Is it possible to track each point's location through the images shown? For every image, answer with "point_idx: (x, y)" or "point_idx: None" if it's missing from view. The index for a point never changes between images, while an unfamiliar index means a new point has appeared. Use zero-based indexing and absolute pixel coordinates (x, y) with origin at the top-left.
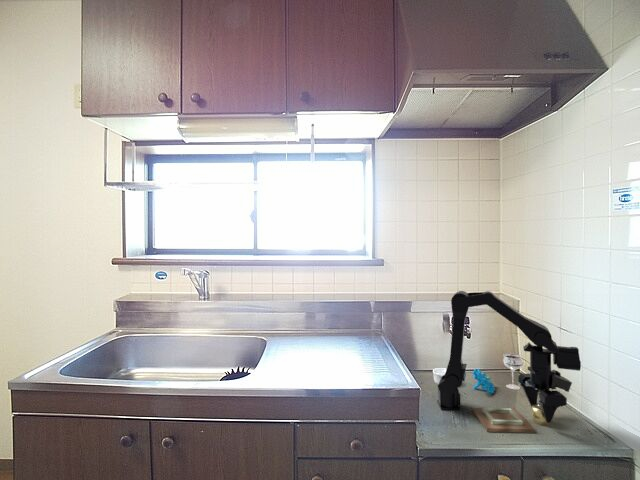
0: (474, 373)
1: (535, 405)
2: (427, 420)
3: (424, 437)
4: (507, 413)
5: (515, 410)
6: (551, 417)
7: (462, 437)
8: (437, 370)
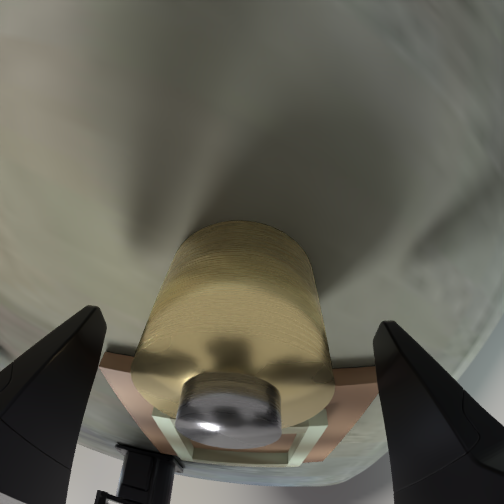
0: None
1: (167, 404)
2: (246, 483)
3: (319, 484)
4: None
5: (131, 379)
6: (427, 365)
7: (336, 468)
8: None
